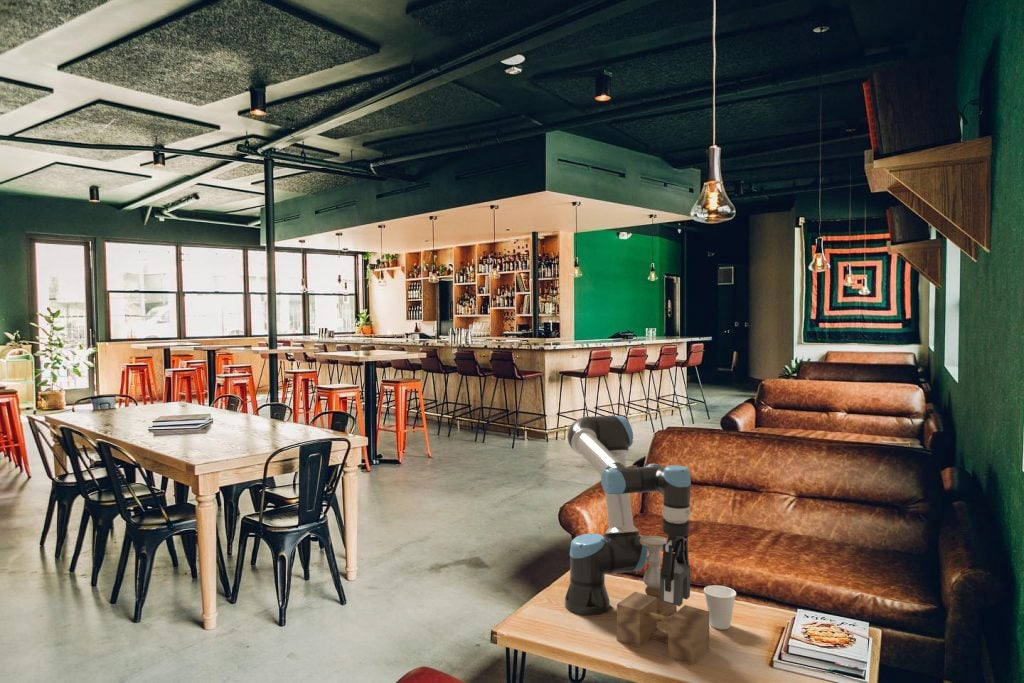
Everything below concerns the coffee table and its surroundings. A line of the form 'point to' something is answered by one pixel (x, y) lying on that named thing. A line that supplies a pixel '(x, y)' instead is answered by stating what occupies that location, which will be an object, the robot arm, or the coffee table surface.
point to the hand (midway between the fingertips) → (674, 596)
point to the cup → (720, 605)
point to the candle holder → (656, 573)
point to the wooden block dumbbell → (682, 635)
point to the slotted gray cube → (678, 584)
